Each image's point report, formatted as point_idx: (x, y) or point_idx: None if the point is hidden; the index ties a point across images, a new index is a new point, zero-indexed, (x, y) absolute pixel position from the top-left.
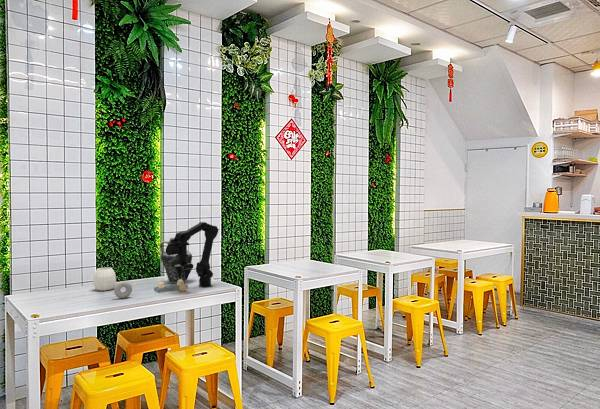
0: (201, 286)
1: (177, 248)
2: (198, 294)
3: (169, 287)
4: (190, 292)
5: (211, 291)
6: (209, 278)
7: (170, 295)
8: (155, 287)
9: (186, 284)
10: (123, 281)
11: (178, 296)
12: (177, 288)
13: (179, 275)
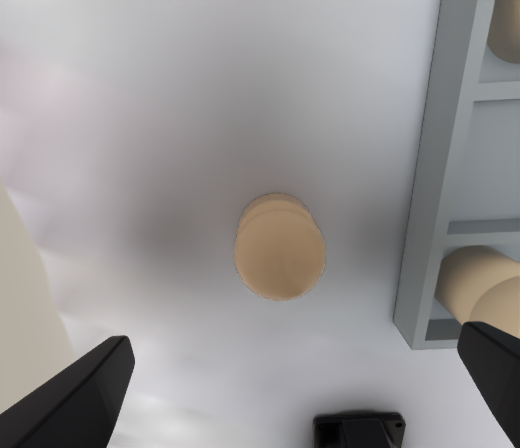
0: (346, 420)
1: None
2: (54, 299)
3: (455, 111)
4: (188, 275)
5: (131, 410)
6: None
7: (146, 11)
8: None
9: (442, 346)
10: None
11: (34, 86)
12: (417, 223)
13: (502, 377)
